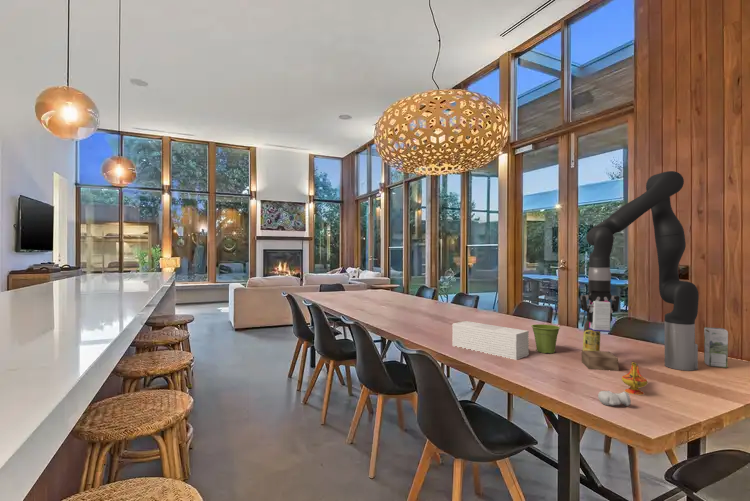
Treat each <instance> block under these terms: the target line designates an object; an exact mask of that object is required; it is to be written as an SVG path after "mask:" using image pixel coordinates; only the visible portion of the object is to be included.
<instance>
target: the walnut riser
mask: <svg viewBox="0 0 750 501" xmlns="http://www.w3.org/2000/svg"><path fill="white" fill-rule="evenodd" d="M581 363H582V364H583V365H584V366H585V367H586V368H587V369H588V370H595V371H596V370H598V371H609V370H610V372H619V358H618V357H617V356H615V355H614V354H613V353H612V352H610V351H602V350H600V351H586V350H583V349H581Z"/></svg>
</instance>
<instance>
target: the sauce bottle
mask: <svg viewBox="0 0 750 501" xmlns="http://www.w3.org/2000/svg"><path fill="white" fill-rule="evenodd" d="M582 337H583V338H582V350H586V351H601V350H600V349H601V332H597V331H593V330H591V329H589V321H588V320H587V319H586V322H585V323H584V325H583V335H582Z"/></svg>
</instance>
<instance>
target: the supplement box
mask: <svg viewBox="0 0 750 501" xmlns="http://www.w3.org/2000/svg"><path fill="white" fill-rule="evenodd" d="M593 303H594V307H593V311H592V313H593V322H589V329H591V330H593V331H597V332H600V333H602V332H603V333H610V332H611V323H610V305H611V302H610V301H609V302H604V301H593ZM593 303H592V302H591V305H592V304H593Z"/></svg>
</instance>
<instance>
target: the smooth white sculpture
mask: <svg viewBox="0 0 750 501" xmlns="http://www.w3.org/2000/svg"><path fill="white" fill-rule="evenodd" d="M597 396H598V397H597V398H598V400H599V402H600V403H601V404H602V405H605V406H608V407H609V406H611V407H612V406H613V407H614V406H620V405H621V404H622V405H624V406H625V407H628V406H630V405H631V403H632V402H631V397H630V393H627V392H626V391H622V392H620V393H617V392H616V393H614V392H612V391H610V390H600V391H599V392H598V394H597Z"/></svg>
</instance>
